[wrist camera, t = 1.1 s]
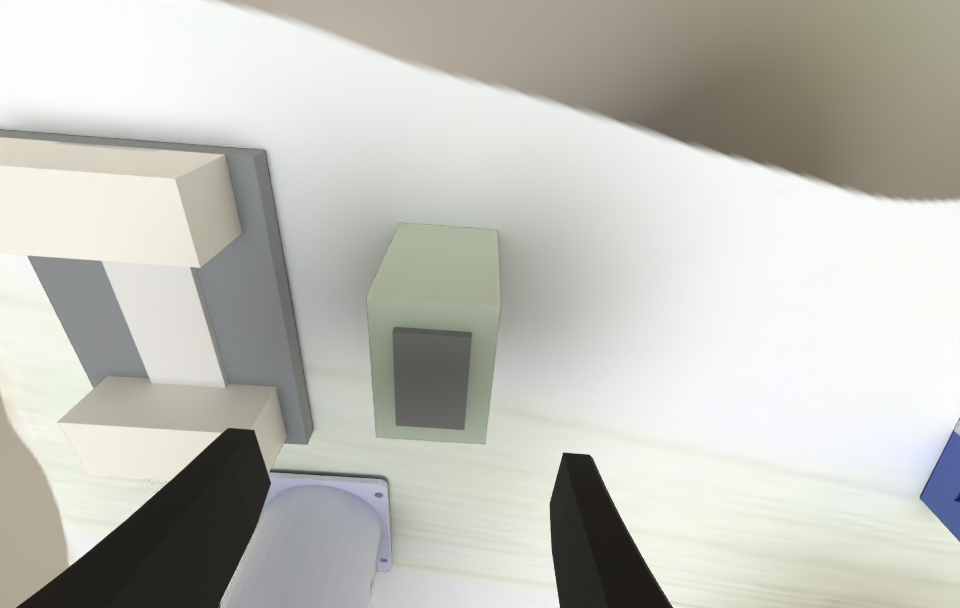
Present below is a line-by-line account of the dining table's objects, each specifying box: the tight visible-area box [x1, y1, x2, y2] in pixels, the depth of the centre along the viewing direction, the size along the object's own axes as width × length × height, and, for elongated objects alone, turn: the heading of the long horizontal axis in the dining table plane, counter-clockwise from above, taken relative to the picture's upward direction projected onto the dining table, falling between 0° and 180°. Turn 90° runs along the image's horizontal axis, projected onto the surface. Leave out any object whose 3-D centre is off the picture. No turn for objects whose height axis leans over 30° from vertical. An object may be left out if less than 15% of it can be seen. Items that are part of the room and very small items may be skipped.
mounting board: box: [0, 130, 313, 445], centre depth 20 cm, size 15×10×1 cm, turn 176°
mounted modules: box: [0, 137, 287, 481], centre depth 19 cm, size 14×8×3 cm, turn 176°
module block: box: [366, 222, 501, 444], centre depth 17 cm, size 6×4×6 cm, turn 176°
